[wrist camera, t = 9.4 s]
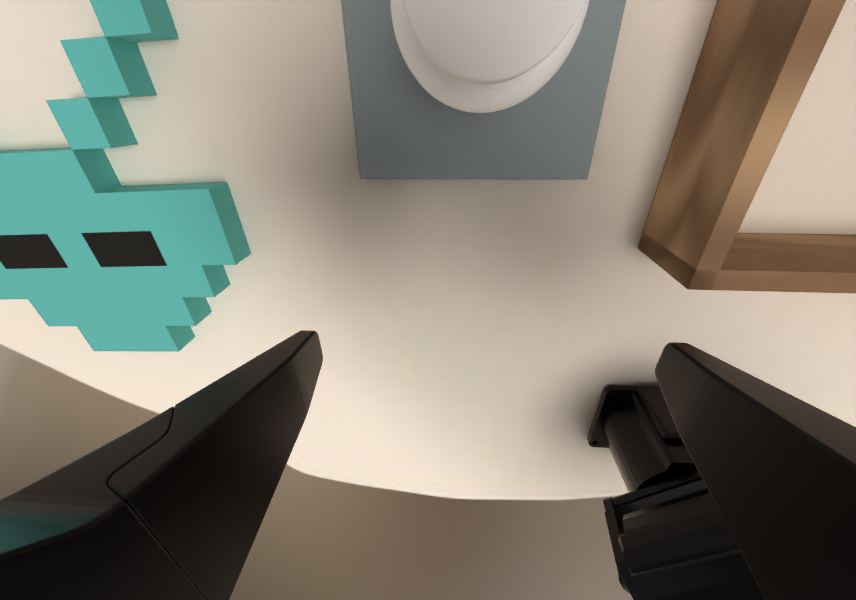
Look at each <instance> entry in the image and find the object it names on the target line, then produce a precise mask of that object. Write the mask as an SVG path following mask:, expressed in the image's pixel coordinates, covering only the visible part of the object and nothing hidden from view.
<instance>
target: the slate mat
mask: <svg viewBox="0 0 856 600" xmlns="http://www.w3.org/2000/svg"><path fill="white" fill-rule="evenodd" d="M341 2H342V12H343V21H344V31H345V40H346V49H347V59H348V68H349V78H350V87H351V97H352V106H353V115H354V125H355V134H356V144H357V153H358V162H359V172H360V179H587V177H588V172H589V168H590V163H591V159H592V154H593V149H594V145H595V140H596V136H597V131H598V127H599V122H600V117H601V113H602V108H603V104H604V99H605V94H606V90H607V85H608V81H609V76H610V71H611V67H612V62H613V58H614V53H615V49H616V44H617V39H618V35H619V30H620V26H621V21H622V16H623V12H624V7H625V3H626V0H589V4H588V9H587V12H586V16H585V19H584V22H583V25H582V28H581V30H580V33H579V35H578V37H577V39H576V42H575V44H574V46H573V48H572V50H571V51H570V53H569V55H568V57H567V58H566V60H565V61H564V62H563V64H562V65H561V67H560V68H559V70H558V71H557V72H556V73H555V74H554V75H553V77H552V78H551V79H550V80H549V81H548V82H547V83H546V84H545V85H544V86H543V87H542V88H540V89H539V90H538V91H537V92H536V93H534V94H533V95H532V96H530V97H529V98H527V99H526V100H524V101H522V102H520V103H518V104H516V105H514V106H512V107H509V108H507V109H503V110H500V111H496V112H489V113H472V112H465V111H461V110H458V109H455V108H452V107H450V106H448V105H446V104H444V103H442V102H440V101H439V100H437V99H435V98H434V97H433V96H431V95H430V94H429V93H428V92H427V91H426V90H425V89H424V88H423V87H422V86H421V85H420V83H419V82H418V81H417V79H416V78H415V77H414V75H413V74H412V72H411V71H410V69H409V67H408V66H407V64H406V62H405V60H404V58H403V56H402V54H401V51H400V49H399V46H398V43H397V40H396V37H395V32H394V28H393V23H392V16H391V6H390V0H341Z"/></svg>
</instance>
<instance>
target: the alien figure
mask: <svg viewBox="0 0 856 600" xmlns="http://www.w3.org/2000/svg"><path fill="white" fill-rule="evenodd" d="M90 2H91V4H92V6H93V9H94V11H95V13H96V16H97V18H98V21H99V23H100V25H101V28H102V30H103V33H104V35H105V37H95V38H83V39H70V40H60V41H61V43H62V46H63V48H64V50H65V52H66V54H67V56H68V58H69V60H70V62H71V65H72V67H73V69H74V71H75V73H76V75H77V77H78V79H79V81H80V83H81V86H82V88H83V90H84V92H85V94H86V96H87V98H75V99H59V100H46V102H47V104H48V105H49V107H50V109H51V111H52V113H53V115H54V117H55V119H56V121H57V122H58V124H59V126H60V128H61V130H62V132H63V134H64V136H65V138H66V139H67V141H68V143H69V145H70V148H51V149H32V150H13V151H0V299H28V300H29V301H30V302H31V304H32V305H33V306H34V308H35V309H36V310H37V312H38V313H39V314H40V316H41V317H42V319H43V320H44V321H45V323H46V324H47V325H48V326H77V327H78V329H79V330H80V332H81V333H82V334H83V336H84V337H85V339H86V340H87V342H88V343H89V345H90V346H91V348H92V349H93V350H94V351H180V350H181V349H182V348H183V347H184V346H185V345H186V344H187V343H189V342H190V341H191V340H192V339H193V338H194V337H195V335H194V333H193V331H192V329H191V327H190V326H196V325H197V324H198V323H199V322H201V321H202V320H203V319H204V318H205V317H206V316H207V315H209V314H210V313H211V312H212V311H211V309H210V307H209V304H208V302H207V300H206V298H205V297H215V296H216V295H218V294H219V293H220V292H221V291H223V290H224V289H225V288H226V287H227V286H229V285H230V282H229V280H228V277H227V274H226V272H225V269H224V267H223V265H236V264H237V263H239V262H240V261H241V260H243V259H244V258H245V257H247V256H248V255H249V254H251V252H250V249H249V246H248V243H247V240H246V237H245V234H244V231H243V228H242V225H241V222H240V219H239V216H238V213H237V210H236V207H235V204H234V201H233V198H232V195H231V192H230V189H229V186H228V183H227V182H217V183H192V184H168V185H143V186H121V184H120V182H119V180H118V178H117V176H116V174H115V172H114V170H113V168H112V166H111V164H110V162H109V160H108V158H107V156H106V154H105V152H104V150H103V148H113V147H120V146H127V145H134V144H138V143H137V141H136V138H135V136H134V134H133V132H132V129H131V127H130V125H129V122H128V120H127V118H126V116H125V113H124V111H123V109H122V106H121V104H120V102H119V100H118V98H123V97H138V96H154V95H157V94H156V92H155V89H154V87H153V84H152V81H151V79H150V76H149V74H148V71H147V68H146V66H145V63H144V61H143V58H142V56H141V53H140V50H139V48H138V45H137V43H136V42H145V41H158V40H171V39H179V38H178V35H177V32H176V29H175V26H174V23H173V20H172V17H171V14H170V11H169V8H168V5H167V2H166V0H90Z"/></svg>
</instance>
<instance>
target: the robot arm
mask: <svg viewBox="0 0 856 600" xmlns="http://www.w3.org/2000/svg"><path fill="white" fill-rule="evenodd" d="M322 361H323V355H322V350H321V345H320V341H319V336H318V334H317V332H315V331H305V330H302V331H299V332H298V333H296V334H294V335H292V336H291V337H289V338H287V339H286V340H284V341H282V342H281V343H279V344H277V345H276V346H274V347H272V348H271V349H269V350H267V351H266V352H264V353H262V354H260V355H259V356H257V357H255V358H254V359H252V360H250V361H249V362H247V363H245V364H244V365H242V366H240V367H239V368H237V369H235V370H233V371H232V372H230V373H228V374H227V375H225V376H223V377H222V378H220V379H218V380H217V381H215V382H213V383H212V384H210V385H208V386H207V387H205V388H203V389H201V390H200V391H198V392H196V393H195V394H193V395H191V396H190V397H188V398H186V399H185V400H183V401H181V402H180V403H178V404H176V405H175V408H174V407H171V408H169V409H168V410H166V411H164V412H163V413H161V414H159V415H158V416H156V417H154V418H152V419H151V420H149V421H147V422H146V423H144V424H142V425H140V426H139V427H137V428H135V429H133V430H132V431H130V432H128V433H126V434H124V435H123V436H121V437H119V438H117V439H115V440H113V441H111V442H109V443H108V444H106V445H104V446H102V447H100V448H98V449H97V450H95V451H93V452H91V453H89V454H87V455H85V456H83V457H82V458H80V459H77V460H76V461H74V462H72V463H70V464H68V465H66V466H64V467H62V468H60V469H59V470H56V471H55V472H53V473H51V474H49V475H47V476H45V477H43V478H41V479H39V480H37V481H36V482H34V483H32V484H30V485H28V486H26V487H24V488H22V489H21V490H18V491H16V492H15V493H12V494H11V495H8V496H6V497H4V498H2V499H0V600H229V599H230V597H231V594H232V592H233V589H234V587H235V585H236V582H237V580H238V578H239V575H240V573H241V570H242V568H243V566H244V563H245V561H246V559H247V556H248V554H249V551H250V549H251V547H252V544H253V542H254V540H255V537H256V535H257V532H258V530H259V528H260V525H261V523H262V521H263V518H264V516H265V513H266V511H267V508H268V506H269V504H270V502H271V499H272V497H273V494H274V491H275V490H276V487H277V485H278V482H279V480H280V478H281V475H282V473H283V471H284V468H285V466H286V463H287V461H288V459H289V456H290V454H291V452H292V449H293V447H294V444H295V442H296V440H297V437H298V435H299V433H300V430H301V428H302V425H303V423H304V421H305V418H306V415H307V413H308V410H309V407H310V403H311V400H312V397H313V393H314V390H315V386H316V383H317V379H318V376H319V372H320V369H321V366H322ZM655 374H656V378H657V381H658V383H659V386H660V388H653V387H629V386H609V387H607V388H605V390H604V392H603V395H602V398H601V401H600V404H599V407H598V410H597V413H596V415H595V418H594V421H593V424H592V427H591V430H590V433H589V436H588V438H587V440H588V443H589V445H590V446H592V447H605V448H610V450H611V453H612V455H613V457H614V459H615V462H616V464H617V466H618V469H619V471H620V473H621V475H622V478H623V480H624V482H625V484H626V487H627V489H628V491H629V493H626V494H623V495H620V496H617V497H615V498H611V497H610V498H607V499H604V500H603V502H604V506H605V510H606V512H605V516H606V521H607V525H608V529H609V534H610V539H611V543H612V547H613V552H614V556H615V561H616V565H617V569H618V576H619V581H620V584H621V586H622V587H623V589H624V590H626V591H627V592H628V593H630V594H631V595H632V597H633V599H634V600H856V427H854V426H852V425H850V424H848V423H846V422H844V421H842V420H840V419H838V418H836V417H834V416H832V415H830V414H828V413H826V412H824V411H822V410H820V409H818V408H816V407H814V406H812V405H810V404H808V403H806V402H804V401H802V400H800V399H798V398H796V397H794V396H792V395H790V394H788V393H786V392H784V391H782V390H780V389H778V388H776V387H774V386H772V385H770V384H768V383H766V382H764V381H762V380H760V379H758V378H756V377H754V376H752V375H750V374H748V373H746V372H744V371H742V370H740V369H738V368H736V367H734V366H732V365H730V364H728V363H726V362H724V361H722V360H720V359H718V358H716V357H714V356H712V355H710V354H708V353H706V352H704V351H702V350H700V349H698V348H696V347H694V346H692V345H690V344H687V343H668V344H667V345H666V346H665V347H664V349H663V352H662V354H661V356H660V359H659V361H658V363H657V366H656V369H655ZM612 392H613V393H612Z"/></svg>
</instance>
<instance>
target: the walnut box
mask: <svg viewBox="0 0 856 600" xmlns="http://www.w3.org/2000/svg"><path fill="white" fill-rule="evenodd" d="M845 1H846V0H718V2H717V5H716V9H715V12H714V15H713V18H712V21H711V24H710V27H709V30H708V33H707V36H706V40H705V43H704V46H703V49H702V52H701V55H700V58H699V61H698V64H697V67H696V70H695V74H694V77H693V80H692V83H691V86H690V89H689V92H688V95H687V98H686V101H685V105H684V108H683V111H682V114H681V117H680V120H679V123H678V126H677V129H676V132H675V136H674V139H673V142H672V145H671V148H670V151H669V154H668V157H667V160H666V163H665V166H664V170H663V173H662V176H661V179H660V182H659V185H658V188H657V191H656V194H655V197H654V201H653V204H652V207H651V210H650V213H649V216H648V219H647V222H646V225H645V228H644V232H643V235H642V238H641V241H640V244H639V247H638V249H639V250H641V251H642V252H643V253H644V254H645V255H647V256H648V257H649V258H650V259H651V260H653V261H654V262H655V263H656V264H658V265H659V266H660V267H661V268H662V269H664V270H665V271H666V272H667V273H668V274H670V275H671V276H672V277H673V278H675V279H676V280H677V281H678V282H679V283H681V284H682V285H683V286H684V287H685V288H687V289H696V290H738V291H780V292H823V293H856V235H824V234H750V233H737V232H738V230H739V228H740V225H741V223H742V221H743V219H744V217H745V215H746V213H747V211H748V208H749V206H750V204H751V202H752V200H753V198H754V196H755V193H756V191H757V189H758V187H759V185H760V183H761V181H762V178H763V176H764V174H765V172H766V170H767V168H768V166H769V164H770V161H771V159H772V157H773V155H774V153H775V151H776V149H777V146H778V144H779V142H780V140H781V138H782V136H783V134H784V132H785V129H786V127H787V125H788V123H789V121H790V119H791V117H792V114H793V112H794V110H795V108H796V106H797V104H798V102H799V99H800V97H801V95H802V93H803V91H804V89H805V87H806V85H807V82H808V80H809V78H810V76H811V74H812V72H813V70H814V67H815V65H816V63H817V61H818V59H819V57H820V55H821V53H822V50H823V48H824V46H825V44H826V42H827V40H828V38H829V35H830V33H831V31H832V29H833V27H834V25H835V23H836V20H837V18H838V16H839V14H840V12H841V10H842V8H843V6H844V3H845Z"/></svg>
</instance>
